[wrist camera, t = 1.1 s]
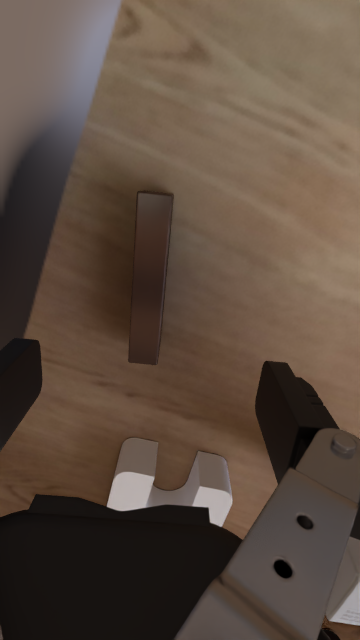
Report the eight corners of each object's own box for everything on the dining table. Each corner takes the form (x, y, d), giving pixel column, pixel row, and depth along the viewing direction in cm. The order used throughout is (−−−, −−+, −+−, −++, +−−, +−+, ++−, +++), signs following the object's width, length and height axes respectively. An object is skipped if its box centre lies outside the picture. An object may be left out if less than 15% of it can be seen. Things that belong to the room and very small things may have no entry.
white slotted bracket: (91, 565, 36) (55, 715, 26) (124, 435, 29) (93, 567, 19) (179, 581, 36) (177, 732, 26) (230, 457, 30) (254, 596, 20)
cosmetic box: (269, 460, 30) (320, 627, 19) (287, 421, 28) (355, 577, 17) (333, 474, 30) (420, 644, 19) (355, 436, 29) (464, 597, 18)
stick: (142, 190, 22) (137, 191, 19) (174, 193, 22) (172, 195, 19) (134, 343, 26) (128, 362, 23) (160, 345, 26) (157, 365, 23)
